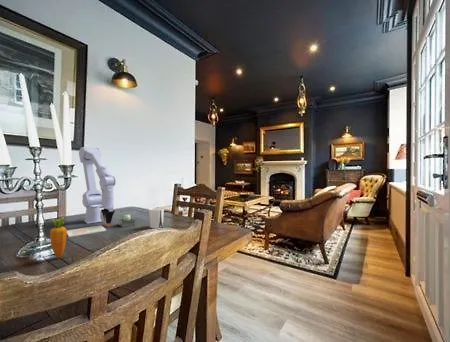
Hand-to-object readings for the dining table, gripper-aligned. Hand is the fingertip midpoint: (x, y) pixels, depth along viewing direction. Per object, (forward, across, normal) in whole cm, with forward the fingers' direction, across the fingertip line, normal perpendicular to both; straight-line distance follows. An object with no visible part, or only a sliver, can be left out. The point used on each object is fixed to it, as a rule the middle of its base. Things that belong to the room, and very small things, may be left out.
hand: (107, 222), depth 126 cm
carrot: (+2, +36, -25) cm, 43 cm away
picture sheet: (+2, +4, -11) cm, 12 cm away
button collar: (+2, +4, +8) cm, 10 cm away
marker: (+2, 0, 0) cm, 2 cm away
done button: (0, +5, +9) cm, 10 cm away
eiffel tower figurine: (+3, +32, +16) cm, 36 cm away
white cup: (+2, +18, +20) cm, 27 cm away
